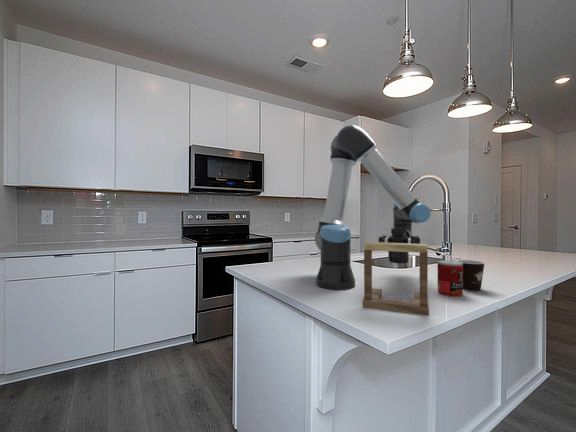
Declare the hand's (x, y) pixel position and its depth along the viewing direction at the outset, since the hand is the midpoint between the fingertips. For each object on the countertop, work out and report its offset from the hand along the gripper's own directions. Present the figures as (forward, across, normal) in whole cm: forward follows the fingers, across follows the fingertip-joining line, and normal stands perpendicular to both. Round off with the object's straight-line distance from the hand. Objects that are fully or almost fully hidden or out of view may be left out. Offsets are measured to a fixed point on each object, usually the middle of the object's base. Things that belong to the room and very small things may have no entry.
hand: (397, 243), depth 99 cm
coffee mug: (-20, -23, -18) cm, 35 cm away
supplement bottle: (-5, 0, -7) cm, 9 cm away
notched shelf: (+8, 0, -18) cm, 20 cm away
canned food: (-11, -17, -18) cm, 27 cm away
